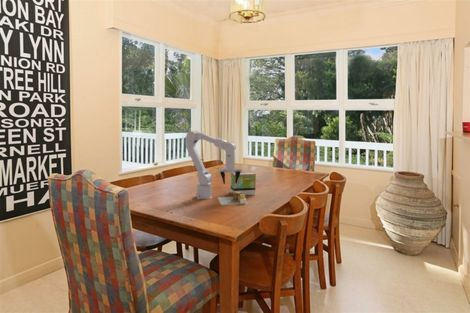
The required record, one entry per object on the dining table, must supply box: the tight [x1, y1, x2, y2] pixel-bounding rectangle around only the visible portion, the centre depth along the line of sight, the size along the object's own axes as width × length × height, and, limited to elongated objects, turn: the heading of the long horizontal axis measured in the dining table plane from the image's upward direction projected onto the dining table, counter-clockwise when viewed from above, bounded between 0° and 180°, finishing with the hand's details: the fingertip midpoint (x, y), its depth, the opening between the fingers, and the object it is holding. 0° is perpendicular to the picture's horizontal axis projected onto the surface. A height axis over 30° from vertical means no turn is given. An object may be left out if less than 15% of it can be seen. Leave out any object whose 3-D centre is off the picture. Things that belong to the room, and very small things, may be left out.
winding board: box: [217, 191, 249, 206], centre depth 196 cm, size 16×18×6 cm
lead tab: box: [239, 194, 246, 202], centre depth 191 cm, size 3×3×5 cm
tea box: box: [229, 171, 257, 196], centre depth 214 cm, size 15×10×15 cm, turn 105°
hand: (230, 183), depth 199 cm, fingers open, 7 cm apart
